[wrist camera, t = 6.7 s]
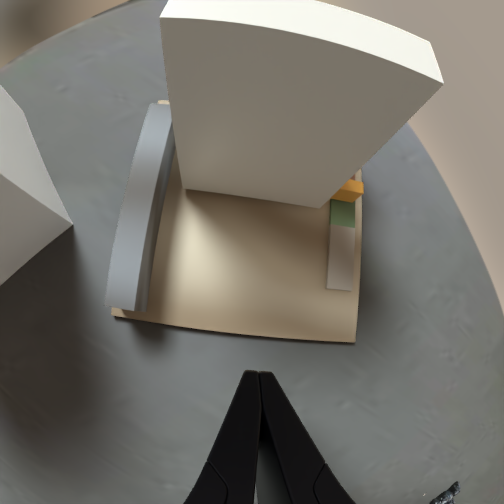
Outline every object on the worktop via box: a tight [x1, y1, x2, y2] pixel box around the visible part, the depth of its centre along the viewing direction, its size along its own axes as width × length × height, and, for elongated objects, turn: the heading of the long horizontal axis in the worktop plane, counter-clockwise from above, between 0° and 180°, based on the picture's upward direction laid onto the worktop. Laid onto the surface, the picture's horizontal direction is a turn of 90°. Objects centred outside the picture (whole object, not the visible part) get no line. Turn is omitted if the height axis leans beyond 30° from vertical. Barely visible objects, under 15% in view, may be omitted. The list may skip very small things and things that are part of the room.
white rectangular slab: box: [160, 0, 444, 209], centre depth 13 cm, size 2×10×12 cm, turn 84°
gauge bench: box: [104, 100, 362, 342], centre depth 15 cm, size 14×14×8 cm
